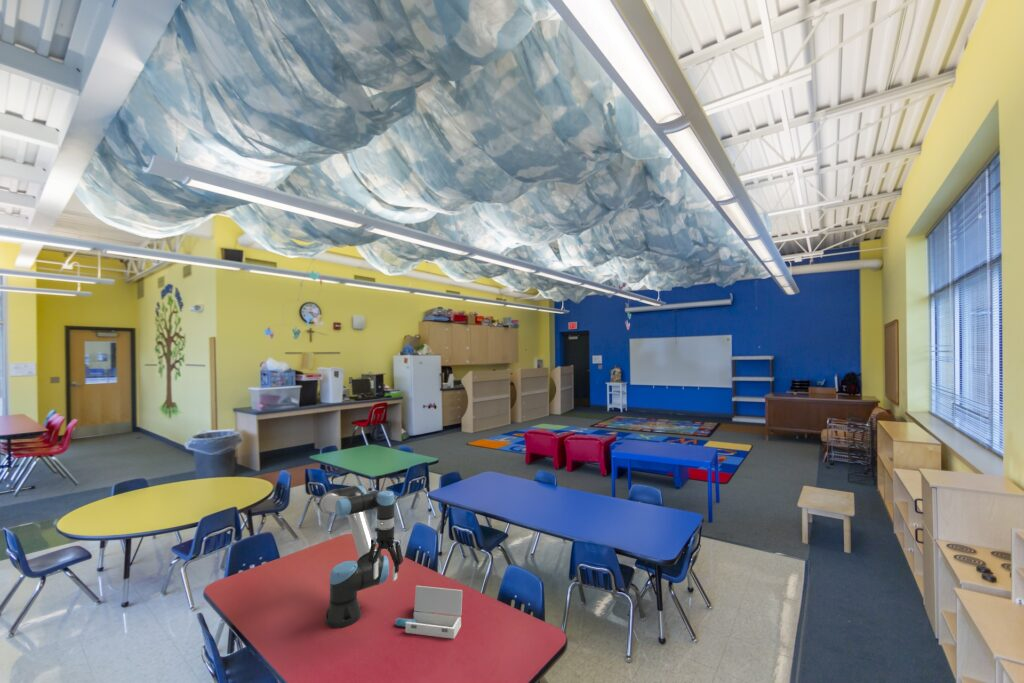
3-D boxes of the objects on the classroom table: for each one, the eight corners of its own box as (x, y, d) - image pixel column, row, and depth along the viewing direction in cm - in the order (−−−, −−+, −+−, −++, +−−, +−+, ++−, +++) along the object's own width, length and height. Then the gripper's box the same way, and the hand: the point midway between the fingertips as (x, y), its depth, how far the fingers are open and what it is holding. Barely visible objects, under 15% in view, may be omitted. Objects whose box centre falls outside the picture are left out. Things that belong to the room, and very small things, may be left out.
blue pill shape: (393, 627, 190) (393, 619, 191) (397, 623, 193) (397, 616, 194) (415, 629, 188) (415, 622, 188) (417, 625, 191) (417, 618, 191)
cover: (415, 586, 197) (417, 585, 198) (414, 610, 195) (415, 609, 196) (461, 590, 192) (462, 589, 194) (460, 615, 190) (461, 614, 191)
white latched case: (404, 633, 185) (404, 623, 186) (414, 620, 195) (414, 611, 195) (453, 639, 181) (453, 629, 181) (461, 626, 190) (461, 616, 190)
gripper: (359, 528, 194) (359, 580, 193) (403, 531, 190) (403, 585, 188) (368, 522, 202) (368, 572, 200) (411, 525, 197) (411, 576, 196)
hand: (385, 578), depth 194 cm, fingers open, 9 cm apart
